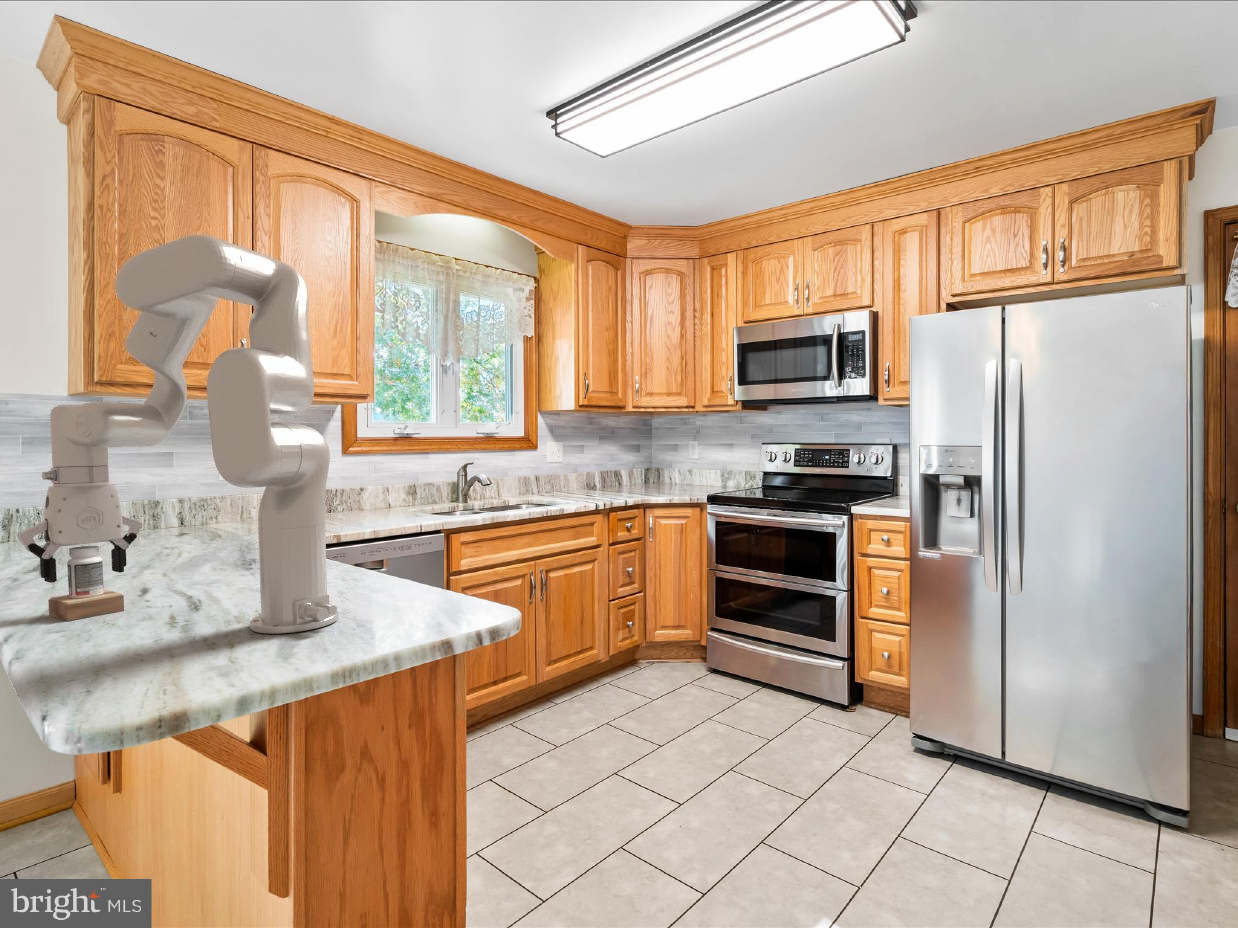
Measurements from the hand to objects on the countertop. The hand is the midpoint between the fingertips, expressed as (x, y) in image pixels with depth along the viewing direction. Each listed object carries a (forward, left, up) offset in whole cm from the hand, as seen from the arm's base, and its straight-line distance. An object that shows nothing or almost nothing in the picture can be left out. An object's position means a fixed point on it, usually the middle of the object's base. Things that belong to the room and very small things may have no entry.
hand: (85, 576), depth 116 cm
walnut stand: (0, 0, -6) cm, 6 cm away
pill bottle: (0, 0, -4) cm, 4 cm away
